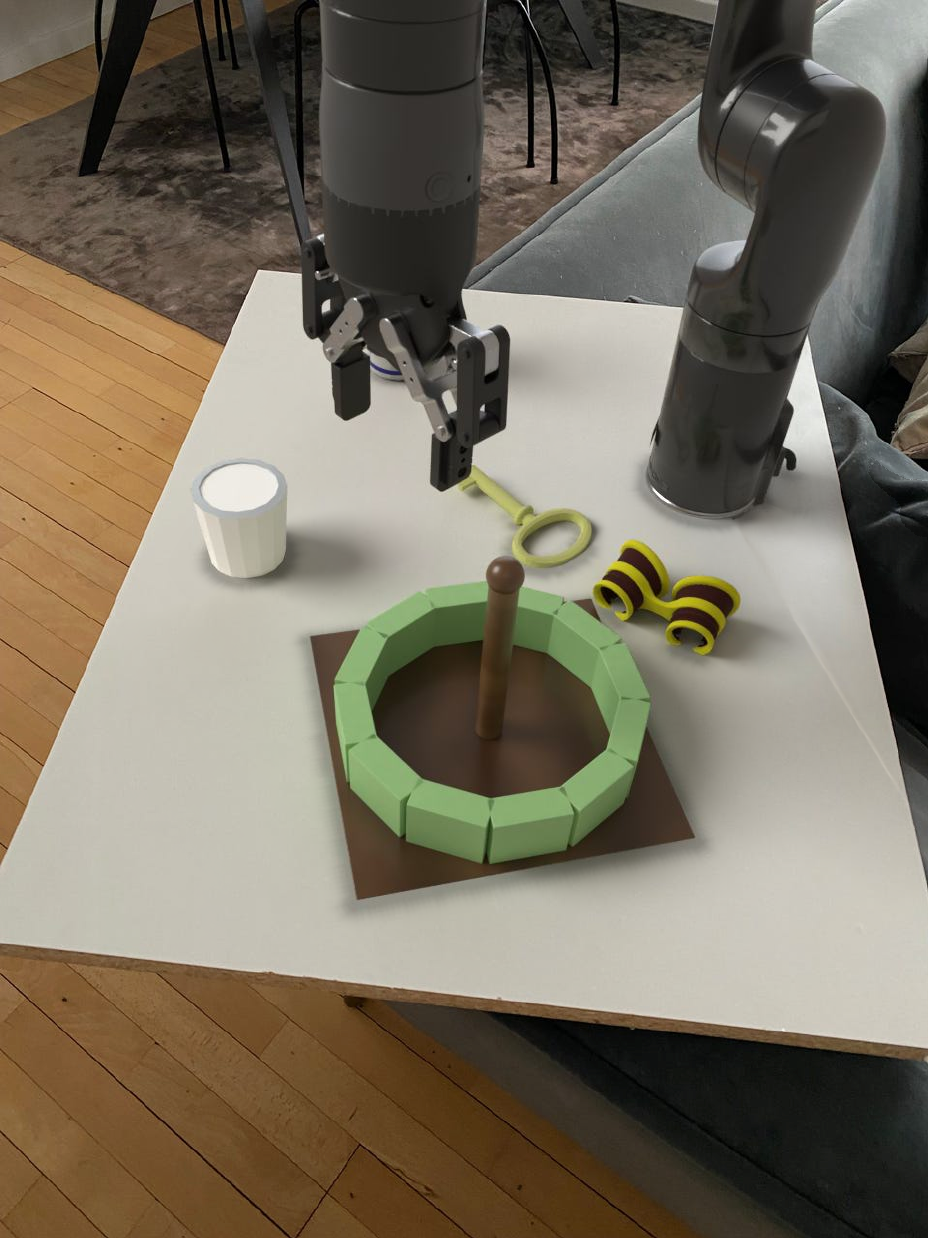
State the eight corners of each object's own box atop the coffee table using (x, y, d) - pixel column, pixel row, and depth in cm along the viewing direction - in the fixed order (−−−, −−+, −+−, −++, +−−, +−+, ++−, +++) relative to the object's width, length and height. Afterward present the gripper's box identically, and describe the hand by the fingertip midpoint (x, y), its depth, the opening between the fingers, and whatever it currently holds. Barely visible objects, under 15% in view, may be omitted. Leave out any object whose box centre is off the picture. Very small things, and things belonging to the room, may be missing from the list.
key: (466, 479, 88) (467, 459, 86) (600, 532, 84) (604, 512, 83) (423, 528, 83) (423, 508, 82) (562, 586, 80) (565, 565, 78)
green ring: (584, 605, 78) (592, 566, 75) (680, 829, 65) (694, 793, 62) (320, 641, 74) (317, 601, 71) (366, 887, 61) (364, 850, 58)
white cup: (205, 529, 82) (193, 457, 77) (293, 525, 83) (287, 455, 78) (200, 590, 77) (186, 519, 72) (293, 586, 78) (286, 515, 73)
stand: (589, 603, 79) (623, 430, 67) (693, 842, 65) (758, 676, 53) (310, 641, 75) (294, 464, 63) (356, 905, 61) (347, 739, 49)
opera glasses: (586, 614, 79) (590, 574, 75) (621, 566, 81) (626, 525, 77) (703, 672, 75) (714, 635, 71) (735, 621, 78) (747, 581, 74)
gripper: (566, 201, 47) (531, 482, 59) (367, 101, 54) (371, 370, 66) (443, 249, 44) (431, 538, 55) (246, 135, 50) (273, 414, 62)
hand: (398, 447), depth 61 cm, fingers open, 8 cm apart
